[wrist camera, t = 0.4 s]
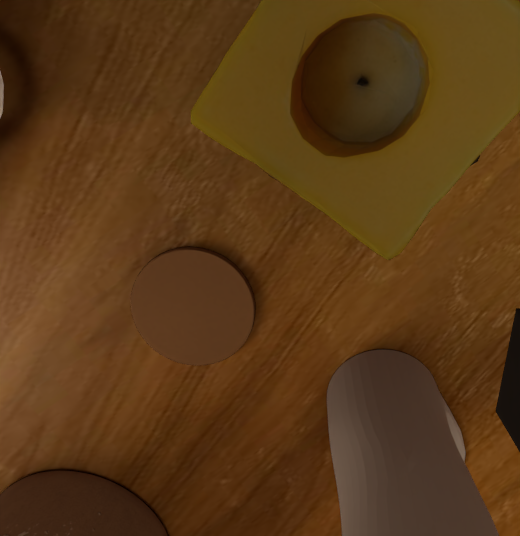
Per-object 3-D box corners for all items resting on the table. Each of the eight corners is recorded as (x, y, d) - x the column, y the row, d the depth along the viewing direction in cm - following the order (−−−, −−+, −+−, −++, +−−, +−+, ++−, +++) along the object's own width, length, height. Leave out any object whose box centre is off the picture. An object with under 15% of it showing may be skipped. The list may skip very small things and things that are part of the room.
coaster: (111, 275, 32) (107, 278, 31) (221, 226, 30) (220, 229, 30) (168, 376, 34) (166, 381, 33) (275, 337, 32) (274, 341, 32)
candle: (490, 63, 26) (592, 42, 17) (368, 217, 29) (396, 272, 20) (333, -59, 25) (348, -156, 16) (225, 114, 28) (182, 121, 19)
